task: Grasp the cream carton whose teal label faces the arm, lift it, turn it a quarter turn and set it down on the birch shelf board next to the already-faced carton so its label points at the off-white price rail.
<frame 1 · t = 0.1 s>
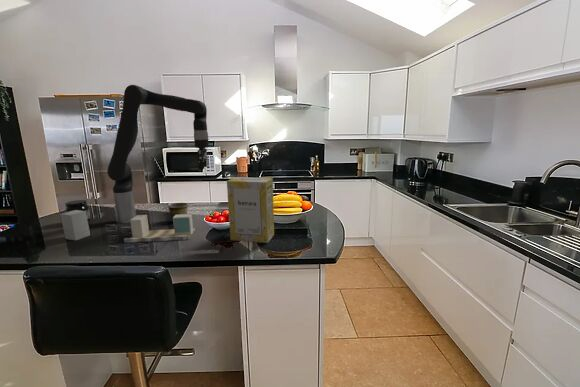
hand: (203, 167, 158), 29 cm above the countertop, fingers open, 8 cm apart
shelf: (163, 237, 134), on the countertop
carton: (141, 235, 133), point 1 cm above the countertop, touching shelf
ceramic cup: (178, 222, 157), on the countertop
supplement container: (80, 222, 158), on the countertop
supplement box: (78, 237, 136), on the countertop
faced carton: (184, 233, 135), point 1 cm above the countertop, touching shelf
pasta box: (252, 237, 133), on the countertop
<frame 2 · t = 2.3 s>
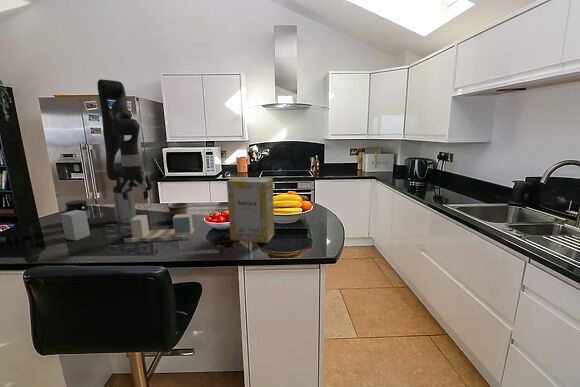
hand: (136, 199, 129), 19 cm above the countertop, fingers open, 8 cm apart
nothing on the countertop moved.
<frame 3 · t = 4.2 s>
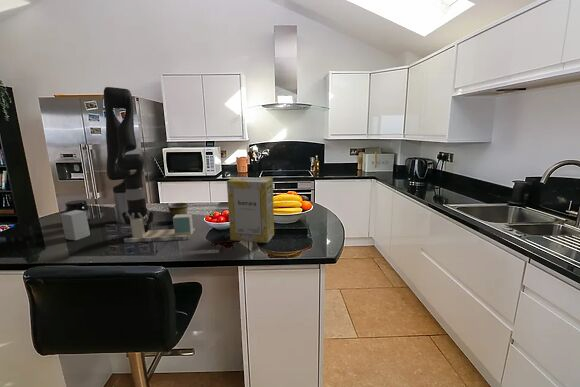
hand: (140, 232, 133), 3 cm above the countertop, fingers closed on carton, 4 cm apart
carton: (141, 235, 133), point 2 cm above the countertop, touching gripper, shelf
everything else where it was.
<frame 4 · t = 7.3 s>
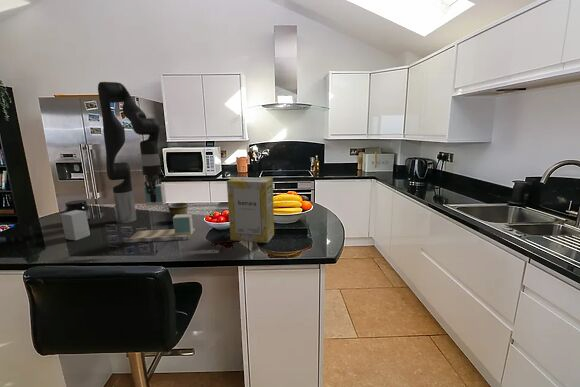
hand: (155, 200, 129), 19 cm above the countertop, fingers closed on carton, 4 cm apart
carton: (156, 203, 130), point 17 cm above the countertop, touching gripper
everything else where it was.
when the fingers open (5 cm above the countertop, at t = 10.2 s): carton drops 1 cm, resting on shelf.
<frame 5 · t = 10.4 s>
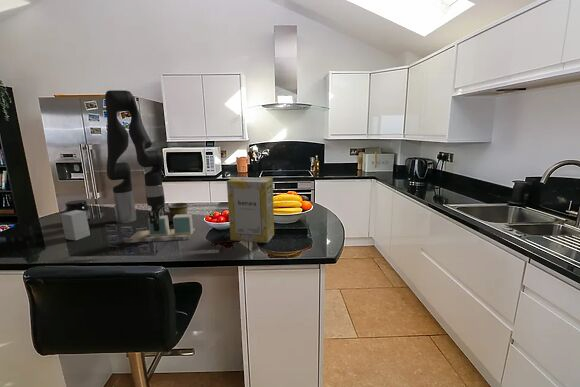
hand: (159, 228, 132), 5 cm above the countertop, fingers open, 6 cm apart
carton: (160, 235, 133), point 1 cm above the countertop, touching shelf
everything else where it was.
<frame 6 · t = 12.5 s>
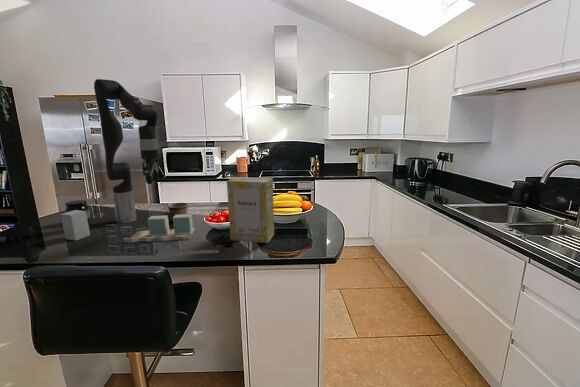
hand: (153, 181, 136), 26 cm above the countertop, fingers open, 8 cm apart
nothing on the countertop moved.
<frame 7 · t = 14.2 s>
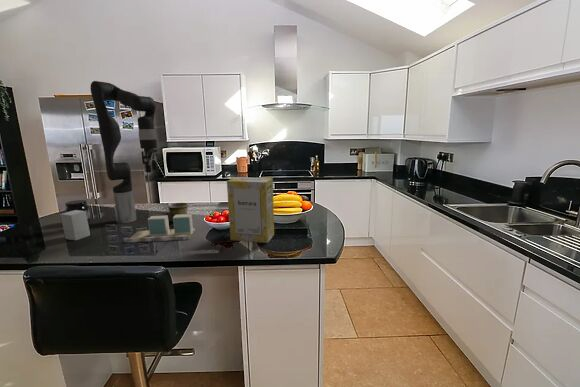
hand: (152, 171, 142), 30 cm above the countertop, fingers open, 8 cm apart
nothing on the countertop moved.
at the end: carton inside the target area (0.0 cm from its centre), point 1.5 cm above the countertop; carton tilted 0°; the gripper is holding nothing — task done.
